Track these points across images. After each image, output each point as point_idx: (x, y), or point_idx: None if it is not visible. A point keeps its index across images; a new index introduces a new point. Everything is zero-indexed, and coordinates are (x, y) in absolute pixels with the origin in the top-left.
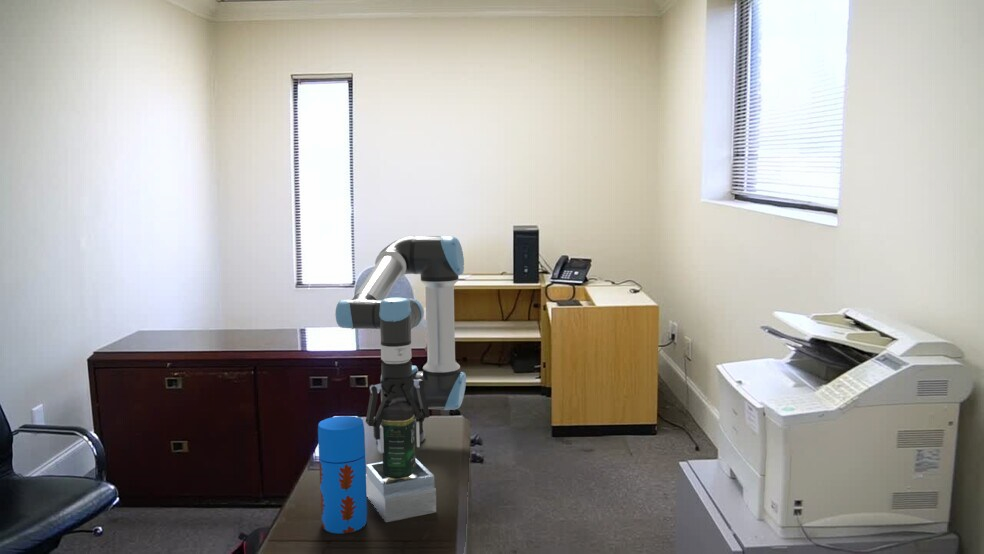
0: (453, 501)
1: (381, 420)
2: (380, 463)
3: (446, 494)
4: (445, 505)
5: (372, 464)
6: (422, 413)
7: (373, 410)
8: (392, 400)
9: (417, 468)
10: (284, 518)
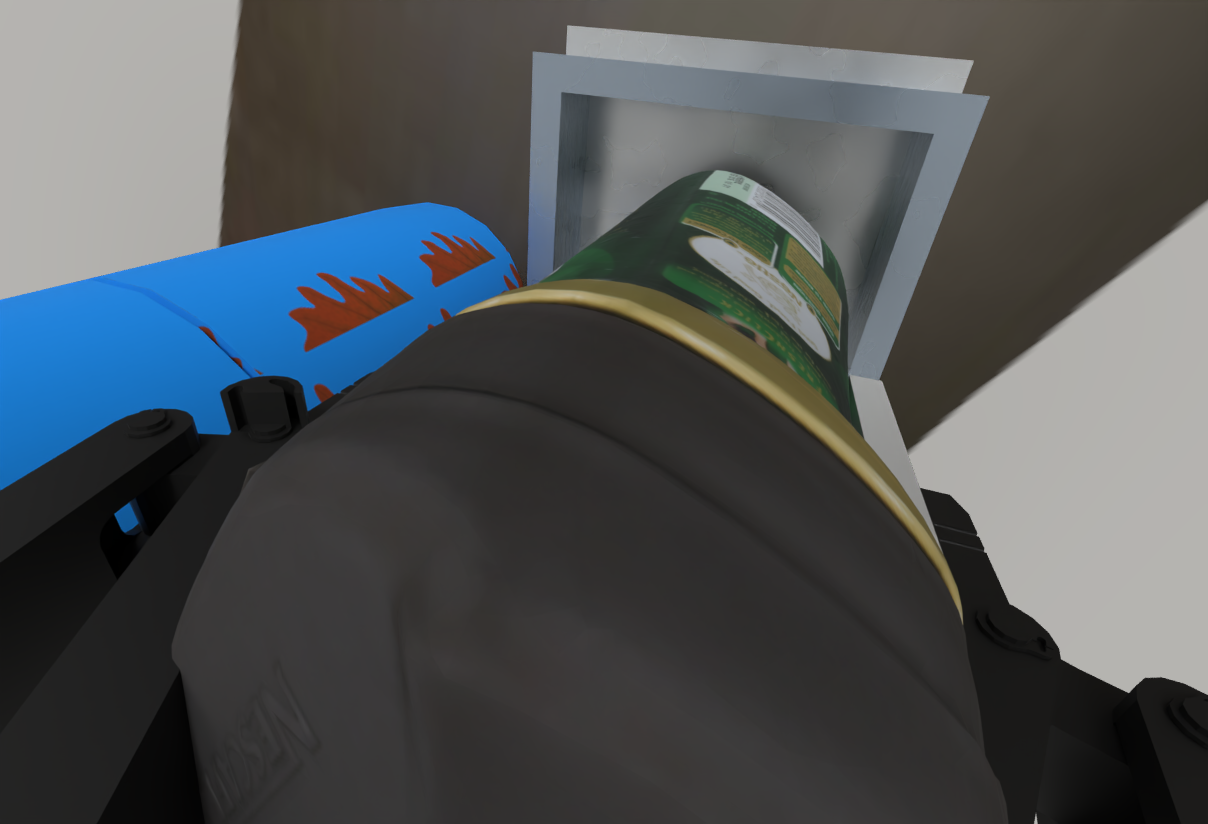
0: (962, 394)
1: None
2: (638, 96)
3: (1009, 297)
4: (893, 405)
5: (574, 82)
6: (1067, 780)
7: (16, 712)
8: (372, 637)
9: (873, 279)
10: (233, 90)
